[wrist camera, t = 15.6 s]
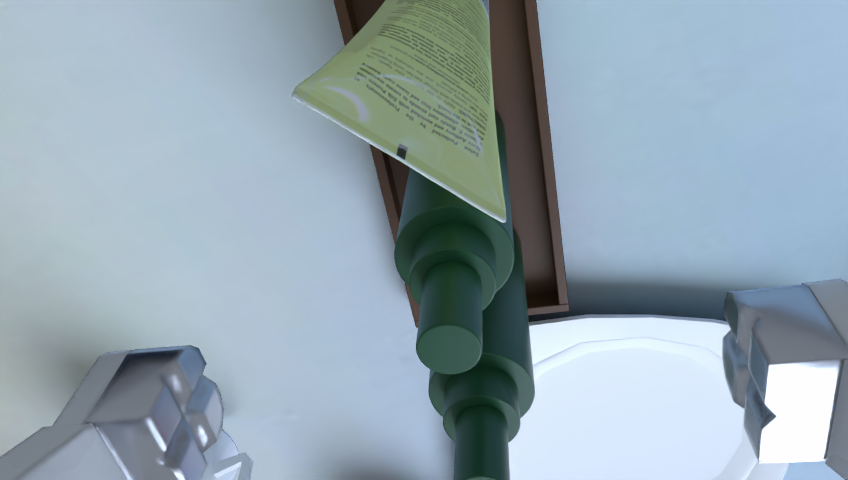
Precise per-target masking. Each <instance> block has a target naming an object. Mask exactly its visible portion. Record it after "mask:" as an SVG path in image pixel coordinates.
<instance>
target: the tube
mask: <svg viewBox="0 0 848 480" xmlns="http://www.w3.org/2000/svg"><path fill="white" fill-rule="evenodd" d="M291 97H292V98H294V99H295V100H297V101H299V102H301V103H302V104H304V105H306V106H307V107H309V108H311V109H312V110H314V111H316V112H318V113H319V114H321V115H323V116H324V117H326V118H328V119H330V120H331V121H333V122H335V123H337V124H338V125H340V126H342V127H343V128H345V129H346V130H348V131H350V132H351V133H353V134H355V135H356V136H358V137H360V138H361V139H363V140H365V141H366V142H368V143H370V144H371V145H373V146H375V147H376V148H378V149H380V150H382V151H383V152H385V153H387V154H389V155H390V156H392V157H394V158H396V159H397V160H399V161H401V162H402V163H404V164H405V165H407V166H409V167H410V168H412V169H414V170H415V171H417V172H419V173H420V174H422V175H423V176H425V177H427V178H428V179H430V180H431V181H433V182H435V183H437V184H438V185H440V186H442V187H443V188H445V189H447V190H448V191H450V192H452V193H453V194H455V195H456V196H458V197H460V198H461V199H463V200H464V201H466V202H467V203H469V204H471V205H472V206H474V207H476V208H477V209H479V210H481V211H483V212H484V213H486V214H488V215H489V216H491V217H493V218H495V219H496V220H498V221H500V222H502V223H505V222H506V207H505V201H504V195H503V186H502V177H501V169H500V160H499V152H498V143H497V133H496V122H495V111H494V98H493V85H492V70H491V55H490V26H489V0H385V2H384V3H383V4H382V6H381V7H380V8H379V9H378V11H377V12H376V13H375V14H374V15H373V17H372V18H371V19H370V20H369V21H368V22H367V23H366V25H365V26H364V27H363V28H362V29H361V30H360V31H359V32H358V33H357V34H356V35H355V36H354V37H353V38H352V39H351V40H350V42H349V43H348V44H347V45H346V46H345V47H343V48H342V49H341V50H340V51H339V52H338V53H337V54H336V55H335V56H334V57H333V58H332V59H331V60H330V61H329V62H327V63H326V64H325V65H324V66H323V67H322V68H321V69H319V70H318V71H317V72H316V73H314V74H313V75H311V76H310V77H309V78H307V79H306V80H304V81H303V82H302V83H300V84H299V85H298V86H296V88H295V89H294V91H293V93H292V96H291Z"/></svg>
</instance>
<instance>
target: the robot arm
mask: <svg viewBox="0 0 848 480" xmlns="http://www.w3.org/2000/svg"><path fill="white" fill-rule="evenodd" d="M724 316H725V318H726V320H727V323H728V325H729V327H730V329H731V330H730V331H729V332H728V333H727V334H726V335H725V336H724V337H723V342H722V358H723V367H724V374H725V378H726V382H727V385H728V389H729V391H730V394H731V397H732V399H733V402H735V403H736V404H738V405H739V406H741V407H742V408H744V423H743V426H744V429H745V431H746V433H747V436H748V438H749V441H750V443H751V445H752V448H753V450H754V453H755V455H756V457H757V460H758V462H759V463H781V462H808V461H826V463H825V464H826V465H828V466H829V467H830V468H831V469H833V470H834V471H835V472H836V473H837V474H839V475H840V476H841V477H842V478H844V479H845V480H848V283H847V282H846V281H844V280H842V279H834V280H825V281H817V282H809V283H802V284H801V285H791V286H781V287H772V288H762V289H753V290H743V291H734V292H727V295H726V299H725V306H724ZM205 366H206V362H205V360H204V358H203V356H202V354H201V352H200V350H199V348H197V347H194V346H191V345H187V346H174V347H161V348H147V349H135V350H127V351H115V352H107V353H105V354H103V355H101V356H99V357H98V359H97V360H96V362H95V363H94V365H93V366H92V367H91V369H90V370H89V372H88V373H87V375H86V376H85V378H84V379H83V381H82V382H81V384H80V385H79V387H78V388H77V390H76V391H75V393H74V394H73V396H72V397H71V399H70V400H69V402H68V403H67V405H66V406H65V408H64V409H63V411H62V412H61V414H60V415H59V417H58V418H57V420H56V421H55V422H54V424H53V425H52V426H50V427H43V428H41V429H40V430H38V431H37V432H35V433H34V434H32V435H31V436H30V437H28V438H27V439H25V440H24V441H22V442H21V443H20V444H18V445H17V446H15V447H14V448H12V449H11V450H9V451H8V452H7V453H5V454H4V455H2V456H1V457H0V480H201V479H202V477H203V474H204V472H205V469H206V467H207V464H208V463H207V461H206V459H205V456H204V454H203V453H204V452H205V451H206V450H207V449H209V448H210V447H211V446H212V445H213V444H214V443H215V442H216V441H217V439H218V437H219V434H220V431H221V428H222V423H223V410H224V408H223V403H222V398H221V394H220V392H219V390H218V387H217V385H216V383H214V382H213V381H211V380H210V379H208V378H207V377H205V376H204V375H203V371H204V369H205Z"/></svg>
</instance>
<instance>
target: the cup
mask: <svg viewBox="0 0 848 480" xmlns="http://www.w3.org/2000/svg"><path fill="white" fill-rule="evenodd" d="M203 454H204V456H205V459H206V461H207V463H208V464H207V467H206V469H205V472H204V474H203V477H202V479H201V480H233V478H234V475H235V472H236V469H237V468H238V467H241V468H240V473H239V479H238V480H250V478H251V473H252V467H253V461H252V459H251V458H250V457H249V456H248V455H247V454H246V453H245V452H244V453H241V454H239V453H238V450H237V447H236V445H235V443H234V442H233V441H232V439H231V438H230V437H229V436H228V435H227V434H226V433H225V432H224V431H222V430H221V431H220V434H219V437H218V439H217V441H216V442H215V443H214V444H213V445H212V446H211V447H210V448H209V449H207V450H206V451H205V452H204V453H203Z"/></svg>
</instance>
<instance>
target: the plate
mask: <svg viewBox="0 0 848 480" xmlns="http://www.w3.org/2000/svg"><path fill="white" fill-rule="evenodd" d="M730 330H731V329H730V327H729V325H728V323H727V322H726V321H721V320H716V319H706V318H692V317H677V316H663V315H579V316H572V317H564V318H557V319H549V320H542V321H534V322H529V332H530V342H531V353H532V364H533V374H534V385H535V397H534V400H533V403H532V405H531V407H530V409H529V410H528V412H527V413H526V414H525V415H524V416H523V417H522V418H520V429H519V431H518V433H517V435H516V436H515V438H514V439H513V440H512V441H510V442H509V443H508V446H509V469H510V480H783V478H784V476H785V473H786V471H787V469H788V467H789V464H790V462H781V463H759V462H758V460H757V457H756V455H755V453H754V450H753V448H752V445H751V443H750V441H749V438H748V436H747V433H746V431H745V429H744V426H743V423H744V408H742V407H741V406H739V405H738V404H736V403H735V402H733V399H732V397H731V394H730V391H729V389H728V385H727V382H726V378H725V374H724V367H723V358H722V342H723V337H724V336H725V335H726V334H727V333H728V332H729V331H730Z"/></svg>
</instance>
